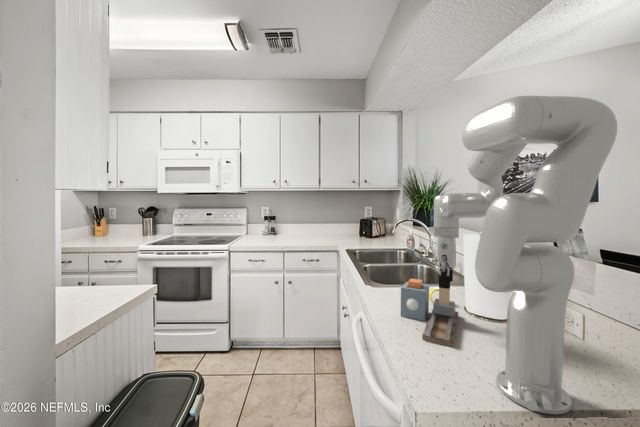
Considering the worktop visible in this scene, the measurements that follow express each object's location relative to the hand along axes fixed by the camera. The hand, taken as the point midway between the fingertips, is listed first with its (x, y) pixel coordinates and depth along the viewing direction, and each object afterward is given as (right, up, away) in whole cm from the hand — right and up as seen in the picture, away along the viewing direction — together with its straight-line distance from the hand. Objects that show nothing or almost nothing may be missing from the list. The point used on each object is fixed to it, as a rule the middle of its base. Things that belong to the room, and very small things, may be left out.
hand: (446, 284), depth 93 cm
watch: (+4, -12, +17) cm, 22 cm away
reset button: (-8, -3, +6) cm, 11 cm away
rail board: (-3, -13, -3) cm, 13 cm away
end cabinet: (-8, -12, +7) cm, 16 cm away
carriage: (0, -10, +1) cm, 10 cm away
